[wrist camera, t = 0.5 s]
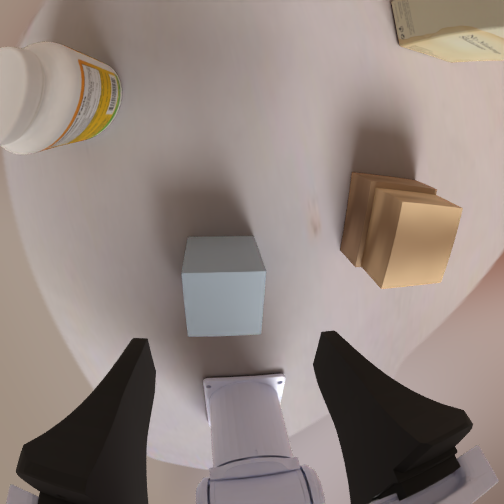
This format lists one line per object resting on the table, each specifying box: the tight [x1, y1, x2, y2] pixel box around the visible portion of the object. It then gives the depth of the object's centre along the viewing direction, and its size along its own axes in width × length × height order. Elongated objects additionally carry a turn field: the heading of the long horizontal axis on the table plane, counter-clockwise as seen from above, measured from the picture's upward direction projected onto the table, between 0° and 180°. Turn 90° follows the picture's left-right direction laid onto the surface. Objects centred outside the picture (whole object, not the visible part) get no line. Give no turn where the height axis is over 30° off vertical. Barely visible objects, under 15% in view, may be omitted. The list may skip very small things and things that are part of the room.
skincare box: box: [391, 0, 504, 63], centre depth 8 cm, size 6×4×12 cm
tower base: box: [340, 172, 437, 267], centre depth 19 cm, size 6×6×3 cm
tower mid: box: [361, 188, 463, 289], centre depth 17 cm, size 6×6×3 cm
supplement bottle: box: [0, 42, 122, 155], centre depth 10 cm, size 5×5×10 cm
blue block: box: [181, 236, 266, 337], centre depth 18 cm, size 4×4×5 cm
